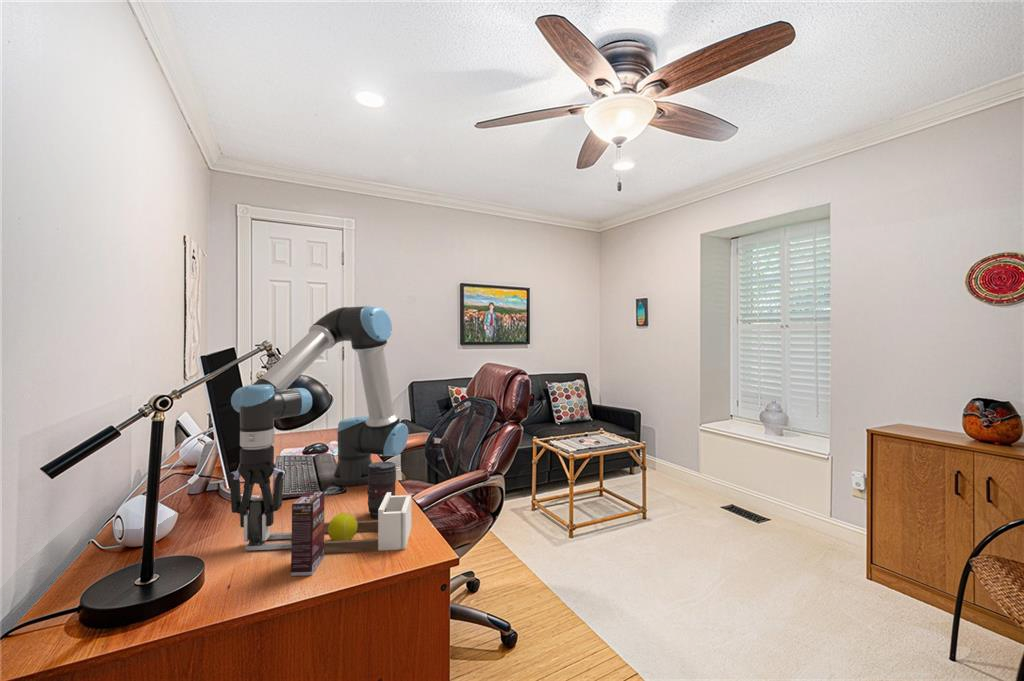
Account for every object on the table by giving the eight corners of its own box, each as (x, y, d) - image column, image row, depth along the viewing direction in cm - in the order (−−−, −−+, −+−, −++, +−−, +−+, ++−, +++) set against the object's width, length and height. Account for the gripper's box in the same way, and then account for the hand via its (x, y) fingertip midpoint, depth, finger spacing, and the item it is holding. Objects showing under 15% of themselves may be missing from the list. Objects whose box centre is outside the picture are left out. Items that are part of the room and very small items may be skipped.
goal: (386, 528, 125) (386, 492, 125) (411, 527, 126) (411, 491, 126) (378, 550, 112) (378, 509, 112) (405, 549, 113) (405, 508, 113)
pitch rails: (322, 531, 123) (322, 522, 123) (386, 528, 125) (386, 519, 125) (306, 554, 110) (306, 544, 110) (378, 550, 112) (378, 540, 112)
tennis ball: (322, 545, 115) (322, 517, 115) (340, 533, 122) (340, 507, 122) (345, 548, 113) (345, 520, 113) (362, 537, 120) (362, 510, 120)
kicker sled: (256, 537, 119) (256, 495, 119) (310, 535, 120) (310, 493, 120) (241, 551, 111) (241, 506, 111) (300, 548, 112) (300, 504, 112)
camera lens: (388, 521, 130) (388, 468, 130) (362, 519, 132) (362, 467, 132) (400, 510, 138) (400, 461, 138) (376, 508, 140) (376, 460, 140)
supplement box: (312, 576, 100) (313, 503, 100) (290, 577, 99) (290, 504, 99) (325, 557, 108) (325, 490, 108) (304, 558, 108) (304, 491, 108)
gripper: (213, 450, 110) (213, 547, 110) (286, 448, 112) (286, 543, 112) (229, 443, 118) (229, 534, 118) (296, 442, 120) (296, 531, 120)
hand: (257, 538), depth 115 cm, fingers closed on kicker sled, 4 cm apart
